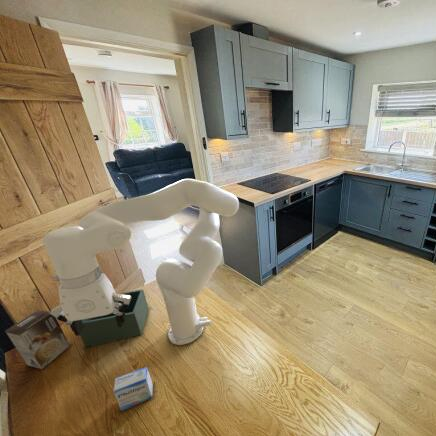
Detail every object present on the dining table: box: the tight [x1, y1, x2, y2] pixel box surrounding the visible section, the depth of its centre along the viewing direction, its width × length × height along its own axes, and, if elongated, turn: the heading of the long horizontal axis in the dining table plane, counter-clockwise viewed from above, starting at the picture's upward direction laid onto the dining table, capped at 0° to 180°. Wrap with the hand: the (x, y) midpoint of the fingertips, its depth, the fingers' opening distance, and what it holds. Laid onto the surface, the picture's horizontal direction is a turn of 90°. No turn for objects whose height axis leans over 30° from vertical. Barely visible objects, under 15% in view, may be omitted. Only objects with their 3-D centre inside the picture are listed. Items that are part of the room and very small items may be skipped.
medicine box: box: [112, 366, 154, 412], centre depth 68 cm, size 8×4×9 cm, turn 118°
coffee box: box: [4, 309, 71, 370], centre depth 78 cm, size 9×6×16 cm
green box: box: [79, 288, 150, 348], centre depth 91 cm, size 18×14×11 cm
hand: (101, 327), depth 65 cm, fingers open, 9 cm apart
